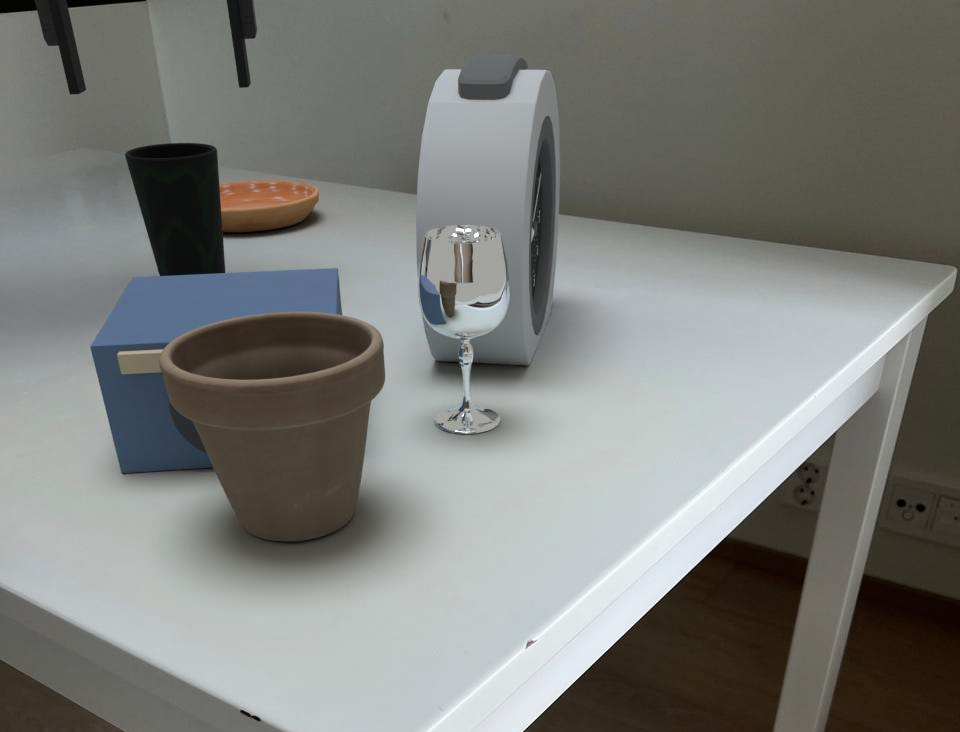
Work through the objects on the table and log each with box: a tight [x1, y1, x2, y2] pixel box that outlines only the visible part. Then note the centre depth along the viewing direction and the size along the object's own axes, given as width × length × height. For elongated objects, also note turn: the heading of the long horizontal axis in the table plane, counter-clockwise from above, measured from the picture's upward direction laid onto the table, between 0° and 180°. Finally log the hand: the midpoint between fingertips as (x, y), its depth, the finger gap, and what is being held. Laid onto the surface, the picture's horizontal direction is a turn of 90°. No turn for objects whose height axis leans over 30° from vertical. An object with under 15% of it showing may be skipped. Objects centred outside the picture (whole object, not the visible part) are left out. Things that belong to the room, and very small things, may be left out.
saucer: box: [219, 179, 320, 233], centre depth 114 cm, size 16×16×3 cm
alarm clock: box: [415, 53, 561, 366], centre depth 76 cm, size 21×8×20 cm, turn 170°
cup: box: [124, 142, 226, 276], centre depth 89 cm, size 8×8×12 cm
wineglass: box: [417, 225, 510, 435], centre depth 64 cm, size 6×6×12 cm
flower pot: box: [159, 312, 386, 542], centre depth 54 cm, size 12×11×10 cm
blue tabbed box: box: [89, 267, 343, 474], centre depth 65 cm, size 14×14×8 cm
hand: (162, 89), depth 83 cm, fingers open, 13 cm apart
